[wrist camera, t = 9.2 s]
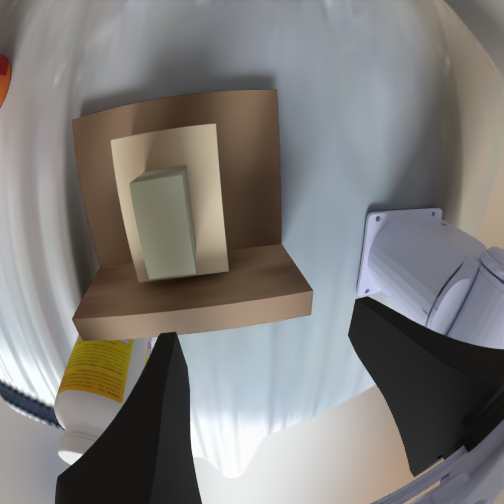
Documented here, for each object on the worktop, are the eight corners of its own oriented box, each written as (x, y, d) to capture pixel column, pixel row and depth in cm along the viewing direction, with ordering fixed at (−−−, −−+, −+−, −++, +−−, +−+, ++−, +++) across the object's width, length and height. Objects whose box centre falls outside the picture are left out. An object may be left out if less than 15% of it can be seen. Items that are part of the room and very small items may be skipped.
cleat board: (271, 92, 16) (314, 72, 9) (277, 256, 21) (311, 314, 14) (79, 120, 14) (19, 121, 7) (111, 277, 19) (82, 341, 13)
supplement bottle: (71, 319, 20) (24, 439, 8) (126, 296, 20) (88, 442, 9) (112, 366, 23) (93, 481, 12) (166, 351, 23) (163, 482, 12)
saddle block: (212, 125, 15) (220, 120, 9) (222, 241, 18) (236, 304, 12) (130, 137, 14) (86, 144, 8) (149, 251, 17) (128, 316, 11)
